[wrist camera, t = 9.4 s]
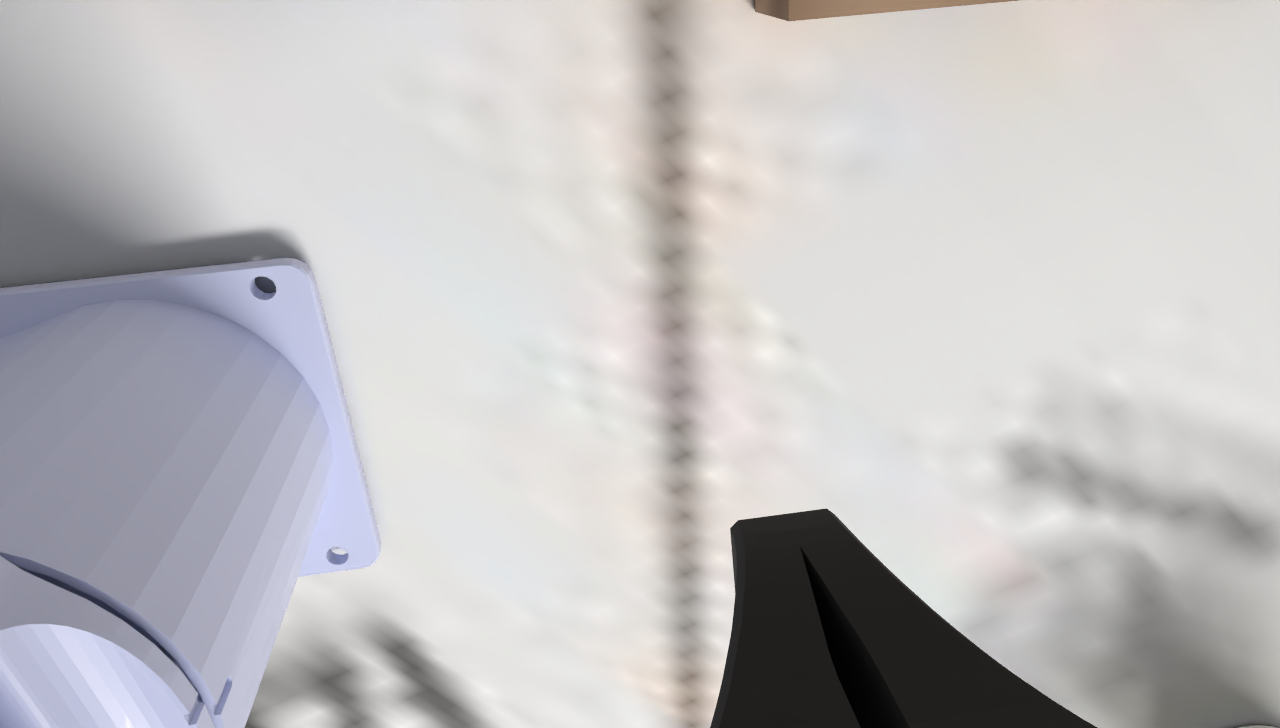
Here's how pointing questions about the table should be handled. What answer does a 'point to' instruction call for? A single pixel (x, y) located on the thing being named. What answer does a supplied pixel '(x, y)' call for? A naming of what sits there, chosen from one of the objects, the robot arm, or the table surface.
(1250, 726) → the supplement bottle
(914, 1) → the pocket
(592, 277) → the table surface
